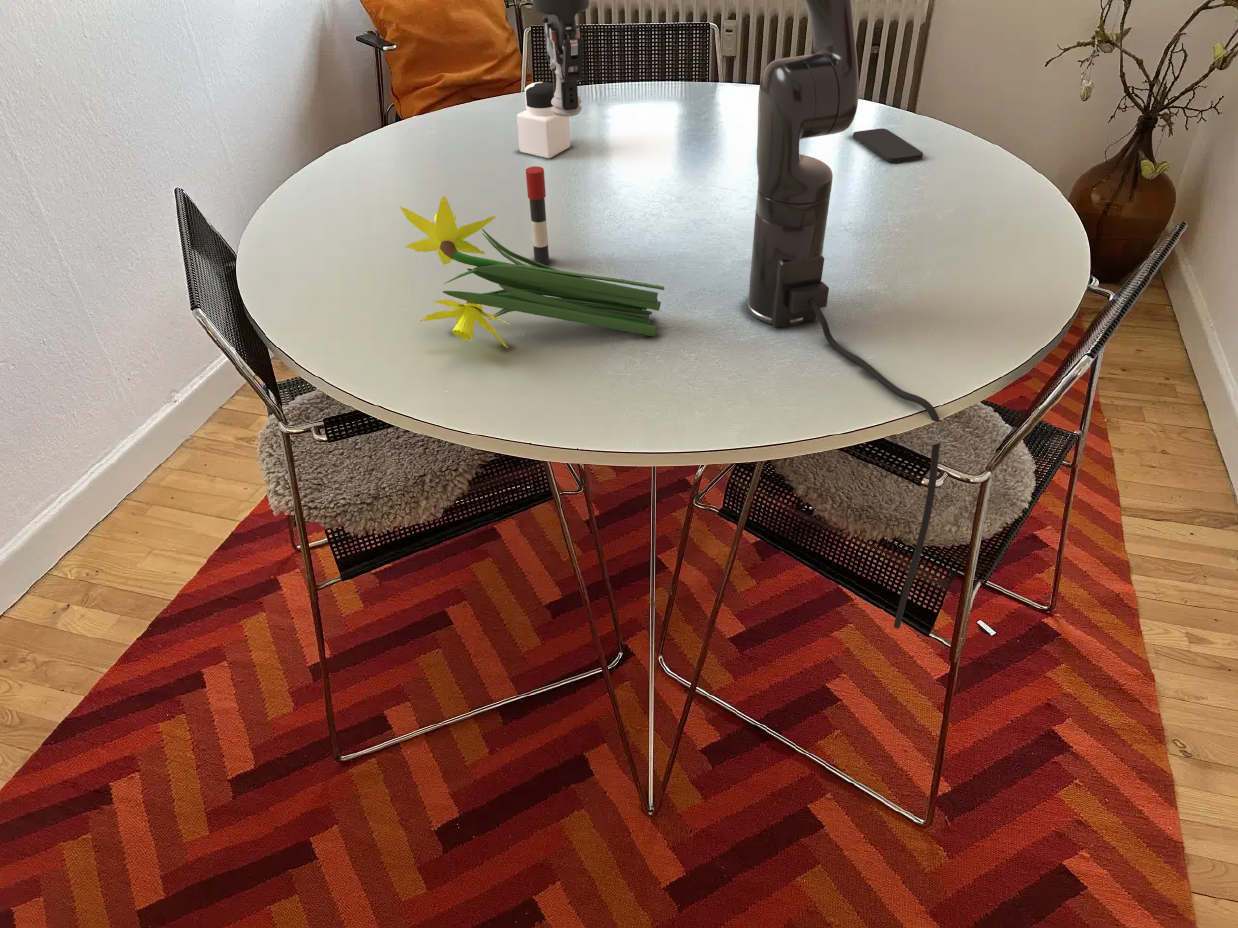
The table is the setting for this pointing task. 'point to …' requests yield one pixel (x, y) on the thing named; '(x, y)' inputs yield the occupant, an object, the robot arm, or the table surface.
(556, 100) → the rook chess piece
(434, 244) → the daffodil flowers
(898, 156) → the phone
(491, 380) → the table surface
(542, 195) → the marker
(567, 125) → the medicine bottle
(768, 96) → the robot arm
